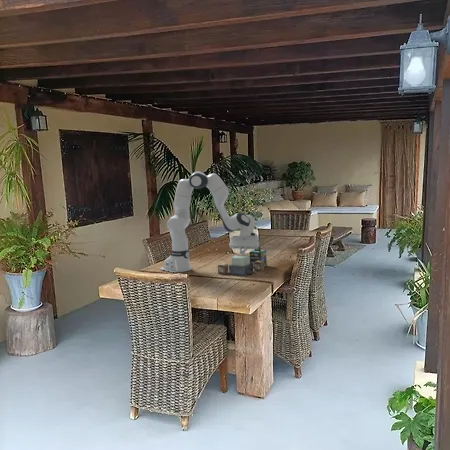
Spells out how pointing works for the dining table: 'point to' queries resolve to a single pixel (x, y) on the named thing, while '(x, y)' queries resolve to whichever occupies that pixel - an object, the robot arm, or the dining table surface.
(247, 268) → the gray tray
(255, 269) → the walnut block right
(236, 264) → the plain block
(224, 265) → the walnut block left
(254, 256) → the chalk box
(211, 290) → the dining table surface
